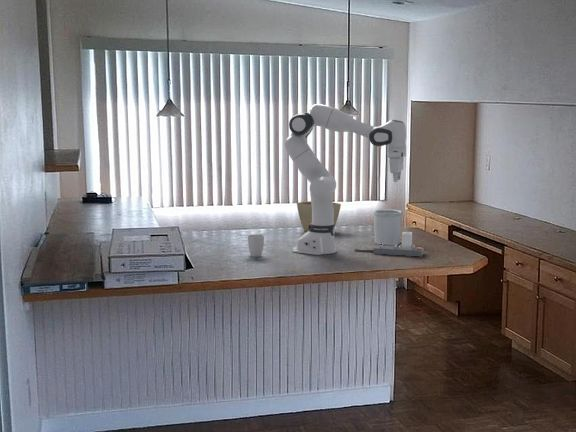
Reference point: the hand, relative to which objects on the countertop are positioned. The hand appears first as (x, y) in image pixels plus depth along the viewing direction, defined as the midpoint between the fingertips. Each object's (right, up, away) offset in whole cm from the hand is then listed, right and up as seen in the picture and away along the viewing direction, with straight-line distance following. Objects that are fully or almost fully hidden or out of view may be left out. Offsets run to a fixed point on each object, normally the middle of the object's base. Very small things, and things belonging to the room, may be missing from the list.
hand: (397, 180), depth 353 cm
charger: (+5, -34, +3) cm, 34 cm away
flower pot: (-36, -27, +66) cm, 80 cm away
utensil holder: (-1, -32, +32) cm, 46 cm away
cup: (-70, -38, 0) cm, 80 cm away
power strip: (-4, -36, +7) cm, 37 cm away
